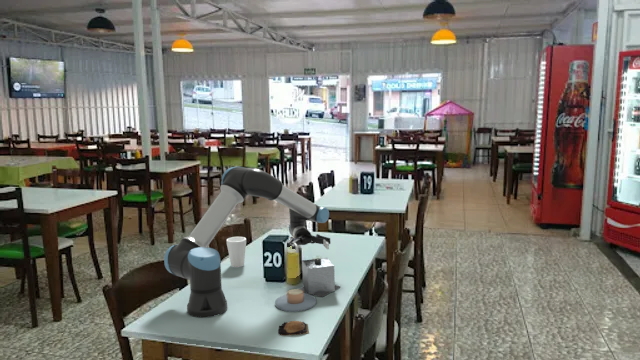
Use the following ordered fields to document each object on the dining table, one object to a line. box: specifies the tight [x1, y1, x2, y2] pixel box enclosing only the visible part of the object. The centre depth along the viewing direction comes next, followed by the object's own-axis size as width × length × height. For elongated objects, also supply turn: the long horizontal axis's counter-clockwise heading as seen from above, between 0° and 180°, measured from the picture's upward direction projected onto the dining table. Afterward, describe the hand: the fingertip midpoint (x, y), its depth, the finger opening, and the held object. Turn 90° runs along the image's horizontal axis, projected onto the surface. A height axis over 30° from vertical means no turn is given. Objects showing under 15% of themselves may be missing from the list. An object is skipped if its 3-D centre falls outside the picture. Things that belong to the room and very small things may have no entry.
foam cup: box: [226, 236, 247, 268], centre depth 246 cm, size 10×9×13 cm
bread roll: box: [277, 320, 310, 337], centre depth 176 cm, size 11×8×4 cm
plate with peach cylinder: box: [274, 288, 317, 313], centre depth 199 cm, size 16×16×5 cm
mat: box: [299, 285, 341, 298], centre depth 214 cm, size 13×13×1 cm
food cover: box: [301, 257, 336, 295], centre depth 213 cm, size 11×11×13 cm
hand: (312, 248), depth 221 cm, fingers open, 13 cm apart
